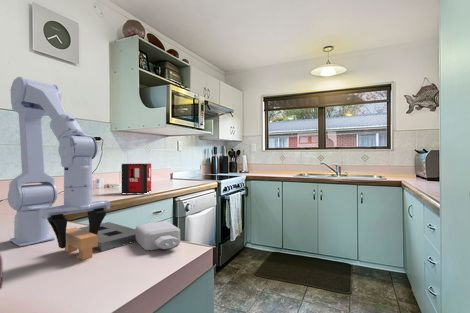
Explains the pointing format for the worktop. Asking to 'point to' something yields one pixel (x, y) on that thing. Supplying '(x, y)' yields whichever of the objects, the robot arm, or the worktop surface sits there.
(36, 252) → the worktop surface
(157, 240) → the charger
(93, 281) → the worktop surface
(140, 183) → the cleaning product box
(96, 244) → the clip
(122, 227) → the gray rectangular slab
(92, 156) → the robot arm
